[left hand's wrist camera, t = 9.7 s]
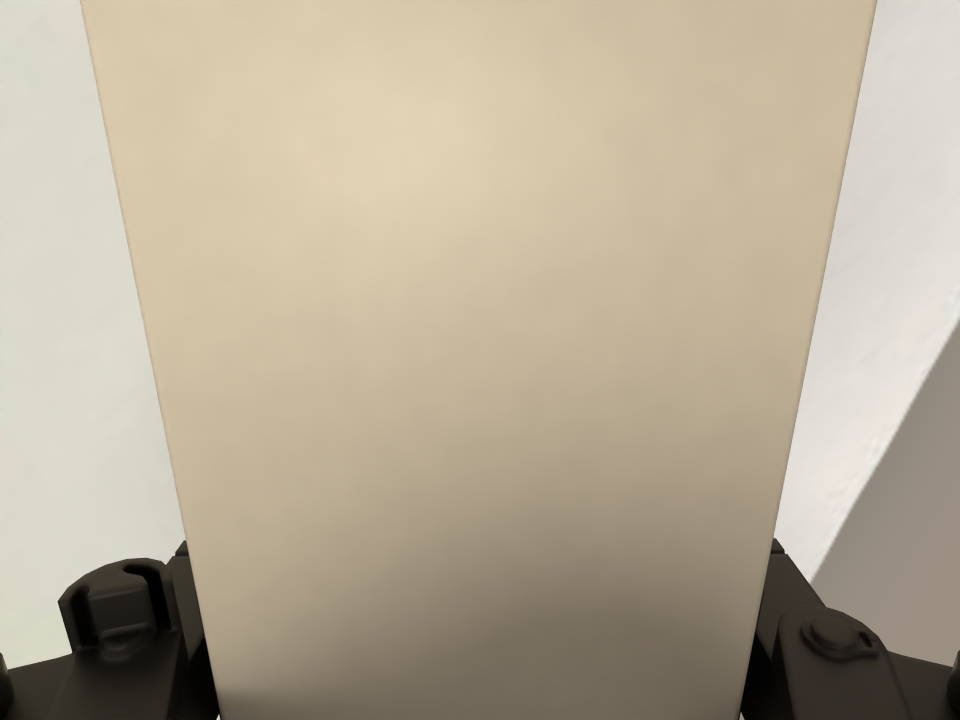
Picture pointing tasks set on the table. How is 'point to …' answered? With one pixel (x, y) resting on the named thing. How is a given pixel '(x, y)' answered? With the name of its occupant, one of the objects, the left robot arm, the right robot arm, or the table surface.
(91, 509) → the table surface
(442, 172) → the box
